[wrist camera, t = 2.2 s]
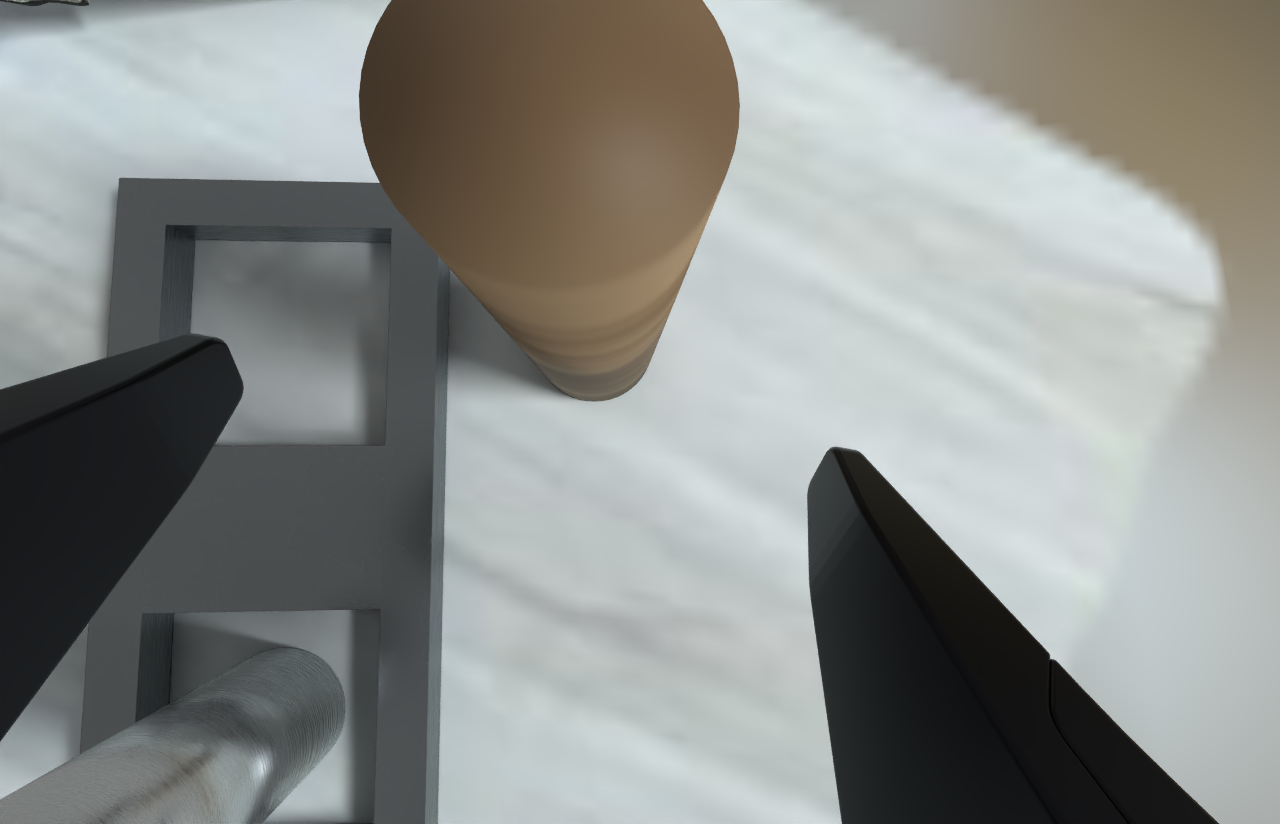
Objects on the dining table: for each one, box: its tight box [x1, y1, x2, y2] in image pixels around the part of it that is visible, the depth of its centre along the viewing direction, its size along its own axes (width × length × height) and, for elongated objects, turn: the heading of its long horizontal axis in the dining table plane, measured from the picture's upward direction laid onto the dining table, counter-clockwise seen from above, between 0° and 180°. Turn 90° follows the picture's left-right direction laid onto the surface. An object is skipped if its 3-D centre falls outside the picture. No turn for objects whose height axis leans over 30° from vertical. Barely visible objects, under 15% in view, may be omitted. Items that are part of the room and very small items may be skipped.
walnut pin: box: [359, 0, 740, 401], centre depth 12 cm, size 4×4×13 cm
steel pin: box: [0, 648, 345, 824], centre depth 13 cm, size 4×4×8 cm
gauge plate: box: [80, 178, 450, 824], centre depth 17 cm, size 22×10×1 cm, turn 0°
